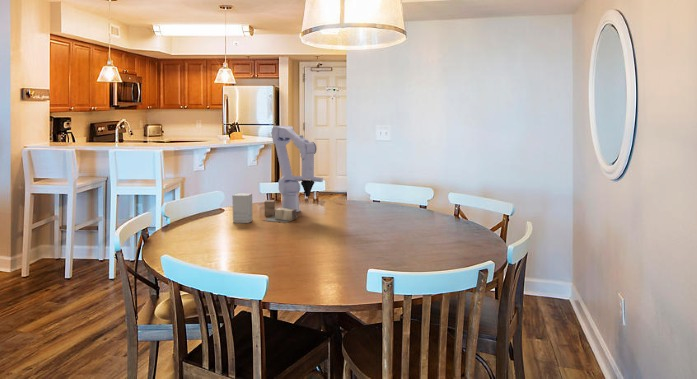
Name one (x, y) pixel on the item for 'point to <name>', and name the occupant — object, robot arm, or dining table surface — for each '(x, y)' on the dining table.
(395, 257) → the dining table surface
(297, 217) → the felt mat
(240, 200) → the supplement box
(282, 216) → the maple block
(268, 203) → the walnut block
